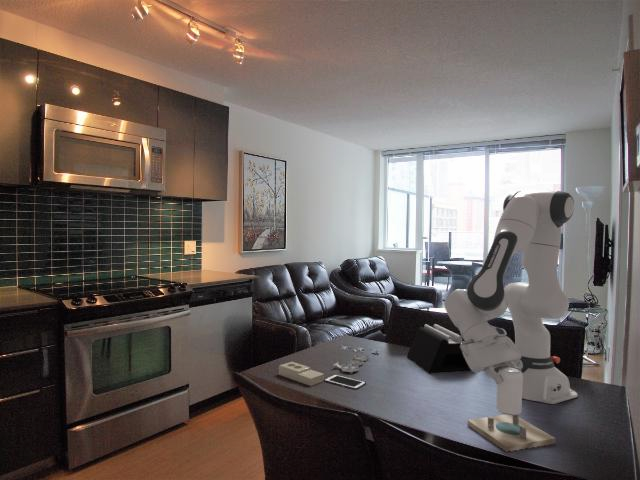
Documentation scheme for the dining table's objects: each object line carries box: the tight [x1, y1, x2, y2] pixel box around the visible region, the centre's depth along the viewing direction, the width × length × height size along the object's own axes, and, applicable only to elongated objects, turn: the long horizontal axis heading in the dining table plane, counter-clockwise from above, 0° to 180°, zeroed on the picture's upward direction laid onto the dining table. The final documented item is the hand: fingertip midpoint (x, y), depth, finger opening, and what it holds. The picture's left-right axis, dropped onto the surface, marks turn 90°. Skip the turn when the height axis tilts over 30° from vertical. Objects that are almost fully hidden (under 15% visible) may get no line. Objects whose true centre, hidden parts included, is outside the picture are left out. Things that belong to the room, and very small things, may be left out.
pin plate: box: [467, 414, 556, 453], centre depth 119 cm, size 16×16×4 cm
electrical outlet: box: [278, 361, 325, 387], centre depth 163 cm, size 7×4×18 cm
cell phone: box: [323, 374, 367, 391], centre depth 158 cm, size 8×15×1 cm, turn 54°
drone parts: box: [332, 344, 381, 374], centre depth 188 cm, size 23×35×3 cm, turn 151°
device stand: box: [407, 323, 473, 374], centre depth 182 cm, size 22×22×15 cm
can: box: [495, 365, 523, 415], centre depth 118 cm, size 6×6×12 cm
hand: (509, 380), depth 119 cm, fingers closed on can, 6 cm apart
